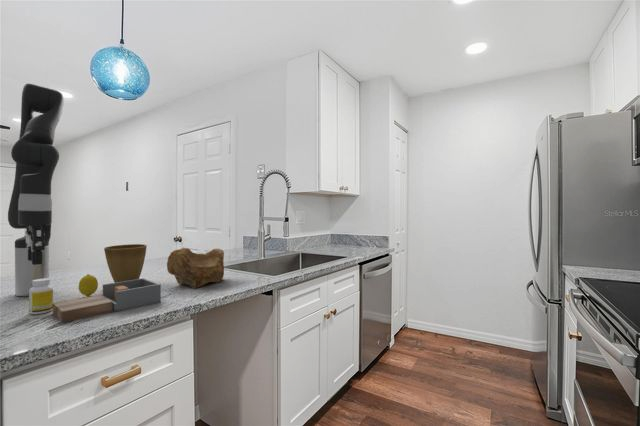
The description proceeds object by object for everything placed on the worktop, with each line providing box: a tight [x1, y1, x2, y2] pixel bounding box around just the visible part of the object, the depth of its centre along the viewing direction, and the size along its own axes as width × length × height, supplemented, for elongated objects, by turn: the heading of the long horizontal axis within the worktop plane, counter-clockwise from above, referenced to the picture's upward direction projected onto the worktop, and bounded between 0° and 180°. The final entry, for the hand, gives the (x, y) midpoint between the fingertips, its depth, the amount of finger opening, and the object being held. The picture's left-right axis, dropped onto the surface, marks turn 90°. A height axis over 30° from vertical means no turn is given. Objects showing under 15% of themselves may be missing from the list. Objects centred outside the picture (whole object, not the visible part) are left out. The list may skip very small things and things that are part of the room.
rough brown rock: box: [166, 247, 225, 289], centre depth 129 cm, size 23×17×15 cm
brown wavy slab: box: [52, 294, 113, 323], centre depth 94 cm, size 12×12×3 cm
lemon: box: [78, 273, 99, 297], centre depth 111 cm, size 6×6×8 cm
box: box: [100, 278, 162, 313], centre depth 104 cm, size 14×14×6 cm
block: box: [115, 286, 129, 303], centre depth 102 cm, size 5×5×2 cm
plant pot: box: [103, 243, 148, 283], centre depth 128 cm, size 15×15×16 cm
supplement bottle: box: [28, 278, 54, 315], centre depth 94 cm, size 5×5×10 cm
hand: (34, 262), depth 95 cm, fingers open, 8 cm apart
